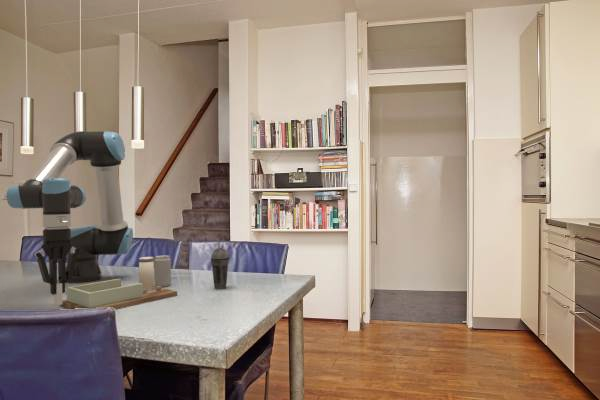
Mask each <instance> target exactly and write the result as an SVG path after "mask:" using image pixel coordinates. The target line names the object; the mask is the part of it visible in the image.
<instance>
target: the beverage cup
mask: <svg viewBox="0 0 600 400" xmlns="http://www.w3.org/2000/svg"><path fill="white" fill-rule="evenodd" d="M217 245H218V246H217V247H218V248H216V249H214V250H213V251H212V253H211V254H210V255H211V256H210V261H211V267H212V277H213V287H214V289H215V290H224V289H226V288H227V283H228V269H229V267H228V266H229V261H230V254H229V252H228V251H227V250H226V249H225V248H223V247H221V246H220V237H217ZM220 247H221V248H220Z"/></svg>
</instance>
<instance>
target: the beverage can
mask: <svg viewBox="0 0 600 400" xmlns="http://www.w3.org/2000/svg"><path fill="white" fill-rule="evenodd" d="M171 261H172V259H171V257H170V255H168V254H167V255H156V256H155V257H154V286H155V287H156V286H161V288H165V287H166V288H167V287H169V286H170V285H171V283H172V266H171V265H172V262H171Z"/></svg>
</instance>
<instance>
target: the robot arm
mask: <svg viewBox="0 0 600 400" xmlns="http://www.w3.org/2000/svg"><path fill="white" fill-rule="evenodd" d="M125 158H126V148H125V144H124V141H123V138H122V136H121V135H120V134H119V133H117V132H116V131H115V132H114V131H107V130H105V131H104V130H103V131H98V130H97V131H94V130H93V131H83V130H82V131H81V130H80V131H74V132H71V133H70V134H69V133H68V134H66V135H65V136H63V137H61V138H59V139H58V140H57V141H56V142H54V144H52V146H51V147H50V149H49V153H48V155H47V156H46V157H45V159H44V160H42V162H41V163H40V164H39V165H38V167H37V168H36V169H35V170H34V171H33V172H32V174H31V175H30V176H29V177H28V178H27V179H26V180H25V182H24V183H22V185H20V184H17V185H11V186H10V187H8V189H7V191H6V197H5V198H6V201H7V202H6V203H7V204H8V205H9V206H10V208H13V209H23V210H26V209H42V227H43V228H44V229H43V230H42V245H41V249H40V250H38V251H35V252H33V253H32V254H33V257H34V258H35V259H36V260H37V264H38V268H39V270H40V274H41V277H42V278H41V279H42V281H43V283H46V284H49V291H50V294H51V295H52V296H53V297H52V299H53V305H55V306H60V305H61V304H62V300H63V294H64V293H65V292H66V283H69V284H70V283H71V284H72V283H78V284H79V283H85V282H86V283H90V282H93V281H99V280H101V279H102V277H103V276H102V271H101V269H100V268H101V267H100V265H99V263H98V256H102V255H103V256H116V255H117V256H119V255H127V254H129V252H130V251H131V249H132V245H133V240H134V231H133V230H134V229H133V228H131V227H129V226H128V222H127V221H125V219H124V214H123V205H122V196H121V194H122V193H121V187H120V178H119V177H120V176H119V167H120V165H122V161H123V160H125ZM76 161H89V162H90V167H92V168H94V170H95V171H94V172H95V176H96V185H97V193H98V203H99V208H100V219H101V222H100V224H99V225H98V226H97V225H96V224H95V225H87V226H79V227H74V228H70V227H71V225H72V223H71V209H77V208H79V207H81V206H82V205H84V204H85V202H86V200H87V194H86V192H85V190H84V189H83V188H82V187H81V186H78V185H74V184H73V185H72V184H71V181H70V179H69V178H64V177H61V176H62V175H63V173H64V172H65V171H66V170H67V168H68V166H70V165H73V164H74V163H75V162H76ZM45 255H46V256H47V258H48V266H49V269H48V266H47V263H46V259H45Z"/></svg>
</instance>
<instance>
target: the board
mask: <svg viewBox="0 0 600 400" xmlns="http://www.w3.org/2000/svg"><path fill="white" fill-rule="evenodd" d="M176 296H178V291H177V290H173V289H168V288H165V287H161V286H156V285H154V290H153V291H150V292H146V289H143V297H138V298H134V299H129V300H124V301H120V302H115V303H110V304H105V305H101V306H96V307H113V308H116V309H115V310H118V309H117V308H119V309H123V308H122V307H124V308H127V306H128V307H132V305H133V306H135V305H136V304H137V305H141V303H142V304H145V302H146V303H150V302H154V301H158V300H163V299H167V298H173V297H176ZM137 305H136V306H137ZM59 306H60V307H63V308H67V309H69V310H72V309H75V308H88V307H84V306H81V305H78V304H75V303H72V302H69V301H67V299H62V304H61V305H59ZM96 307H91V308H96Z"/></svg>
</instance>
